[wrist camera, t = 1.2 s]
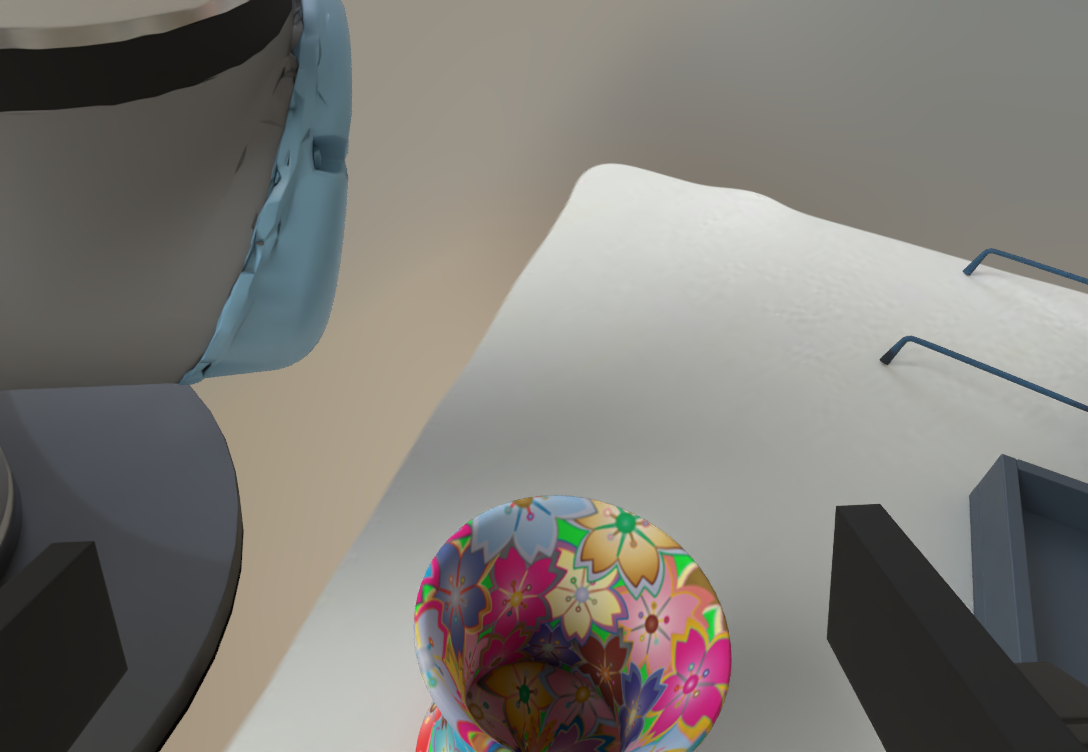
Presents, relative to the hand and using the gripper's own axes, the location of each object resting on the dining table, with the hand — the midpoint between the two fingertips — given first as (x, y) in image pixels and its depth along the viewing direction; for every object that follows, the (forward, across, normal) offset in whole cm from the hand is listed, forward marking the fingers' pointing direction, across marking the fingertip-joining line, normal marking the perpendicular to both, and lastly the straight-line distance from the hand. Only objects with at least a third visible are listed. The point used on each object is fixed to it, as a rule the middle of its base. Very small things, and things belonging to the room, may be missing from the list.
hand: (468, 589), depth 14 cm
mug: (+10, 0, -16) cm, 19 cm away
